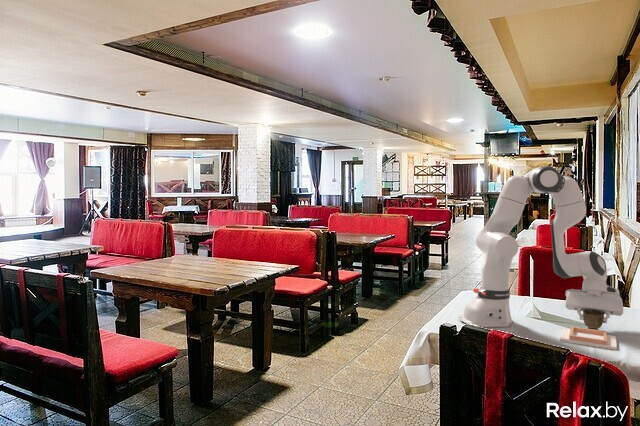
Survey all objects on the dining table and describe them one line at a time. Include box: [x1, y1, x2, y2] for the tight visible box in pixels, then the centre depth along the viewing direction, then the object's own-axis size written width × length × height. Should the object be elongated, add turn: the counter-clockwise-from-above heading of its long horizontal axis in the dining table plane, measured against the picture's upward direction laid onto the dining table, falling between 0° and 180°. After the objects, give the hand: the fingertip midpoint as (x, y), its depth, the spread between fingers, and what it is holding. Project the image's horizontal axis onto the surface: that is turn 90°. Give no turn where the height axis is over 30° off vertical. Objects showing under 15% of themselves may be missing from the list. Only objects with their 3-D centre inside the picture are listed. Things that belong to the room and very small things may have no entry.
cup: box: [582, 309, 605, 330], centre depth 184 cm, size 8×7×8 cm
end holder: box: [559, 325, 618, 351], centre depth 174 cm, size 13×18×2 cm
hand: (593, 320), depth 183 cm, fingers closed on cup, 6 cm apart
